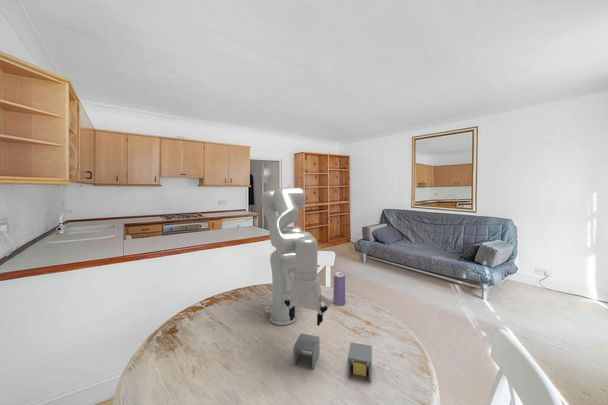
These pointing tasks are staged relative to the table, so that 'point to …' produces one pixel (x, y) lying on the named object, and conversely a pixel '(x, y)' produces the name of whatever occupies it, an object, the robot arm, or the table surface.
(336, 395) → the table surface
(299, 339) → the left cover
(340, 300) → the beverage can
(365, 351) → the right cover
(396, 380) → the table surface
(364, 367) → the cube
